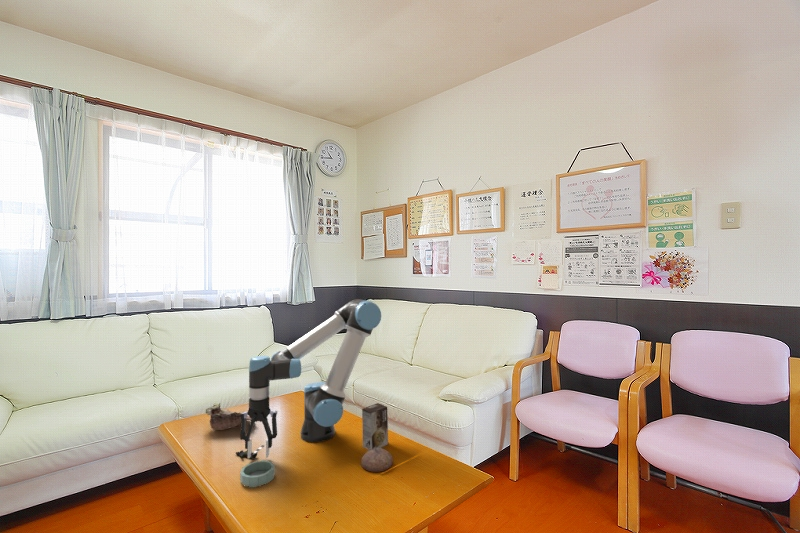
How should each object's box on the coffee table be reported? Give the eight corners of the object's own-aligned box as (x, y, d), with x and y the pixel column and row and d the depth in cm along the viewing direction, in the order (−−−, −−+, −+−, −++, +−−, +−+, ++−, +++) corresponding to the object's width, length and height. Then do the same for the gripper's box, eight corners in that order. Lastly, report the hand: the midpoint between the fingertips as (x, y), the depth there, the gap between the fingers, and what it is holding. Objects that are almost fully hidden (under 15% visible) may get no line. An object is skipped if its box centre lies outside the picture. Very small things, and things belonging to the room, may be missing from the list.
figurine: (252, 455, 146) (229, 449, 151) (254, 464, 147) (231, 458, 152) (264, 445, 152) (242, 440, 157) (265, 455, 152) (243, 449, 157)
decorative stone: (374, 476, 136) (374, 460, 136) (354, 465, 145) (354, 450, 145) (399, 464, 144) (398, 449, 144) (378, 454, 153) (378, 440, 153)
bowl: (277, 469, 143) (277, 459, 143) (270, 486, 131) (270, 475, 131) (245, 471, 141) (245, 461, 141) (236, 489, 130) (236, 478, 130)
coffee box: (378, 439, 166) (378, 402, 166) (388, 444, 161) (388, 406, 161) (362, 446, 160) (361, 408, 159) (372, 452, 155) (371, 412, 155)
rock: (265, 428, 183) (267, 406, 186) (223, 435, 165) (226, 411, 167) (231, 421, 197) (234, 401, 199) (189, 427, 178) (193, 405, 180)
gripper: (286, 392, 154) (285, 450, 154) (236, 394, 151) (235, 452, 151) (282, 399, 146) (282, 459, 146) (230, 401, 144) (229, 462, 144)
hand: (258, 456), depth 149 cm, fingers open, 6 cm apart
